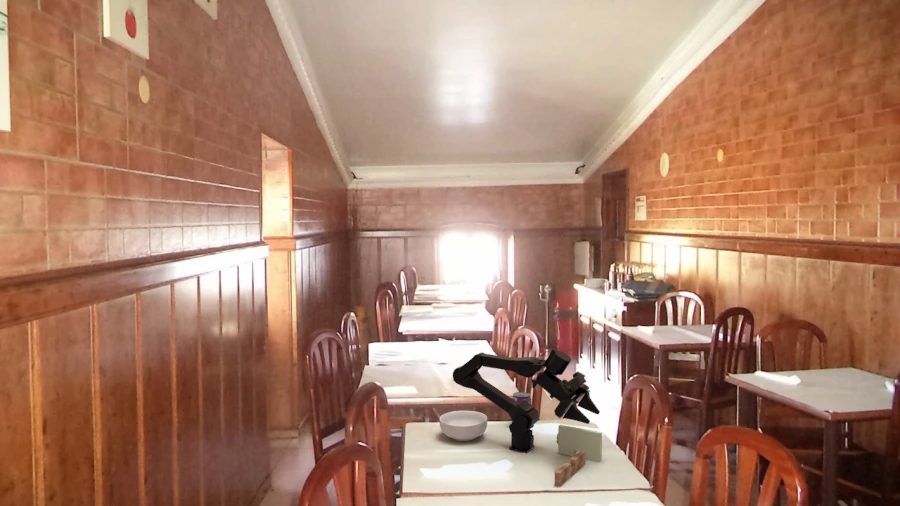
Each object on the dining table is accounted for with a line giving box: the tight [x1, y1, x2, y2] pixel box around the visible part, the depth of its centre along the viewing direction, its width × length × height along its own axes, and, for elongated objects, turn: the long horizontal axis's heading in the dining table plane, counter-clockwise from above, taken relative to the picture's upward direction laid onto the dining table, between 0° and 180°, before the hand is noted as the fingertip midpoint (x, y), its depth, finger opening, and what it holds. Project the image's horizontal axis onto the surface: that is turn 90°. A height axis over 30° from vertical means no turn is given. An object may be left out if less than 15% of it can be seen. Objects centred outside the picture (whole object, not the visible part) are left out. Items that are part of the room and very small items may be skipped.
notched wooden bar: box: [554, 450, 586, 488], centre depth 194 cm, size 20×2×4 cm, turn 147°
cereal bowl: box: [439, 410, 488, 442], centre depth 227 cm, size 17×17×7 cm
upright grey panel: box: [557, 424, 603, 463], centre depth 208 cm, size 14×2×9 cm, turn 57°
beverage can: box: [511, 391, 532, 424], centre depth 238 cm, size 7×7×12 cm
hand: (594, 417), depth 204 cm, fingers open, 9 cm apart
